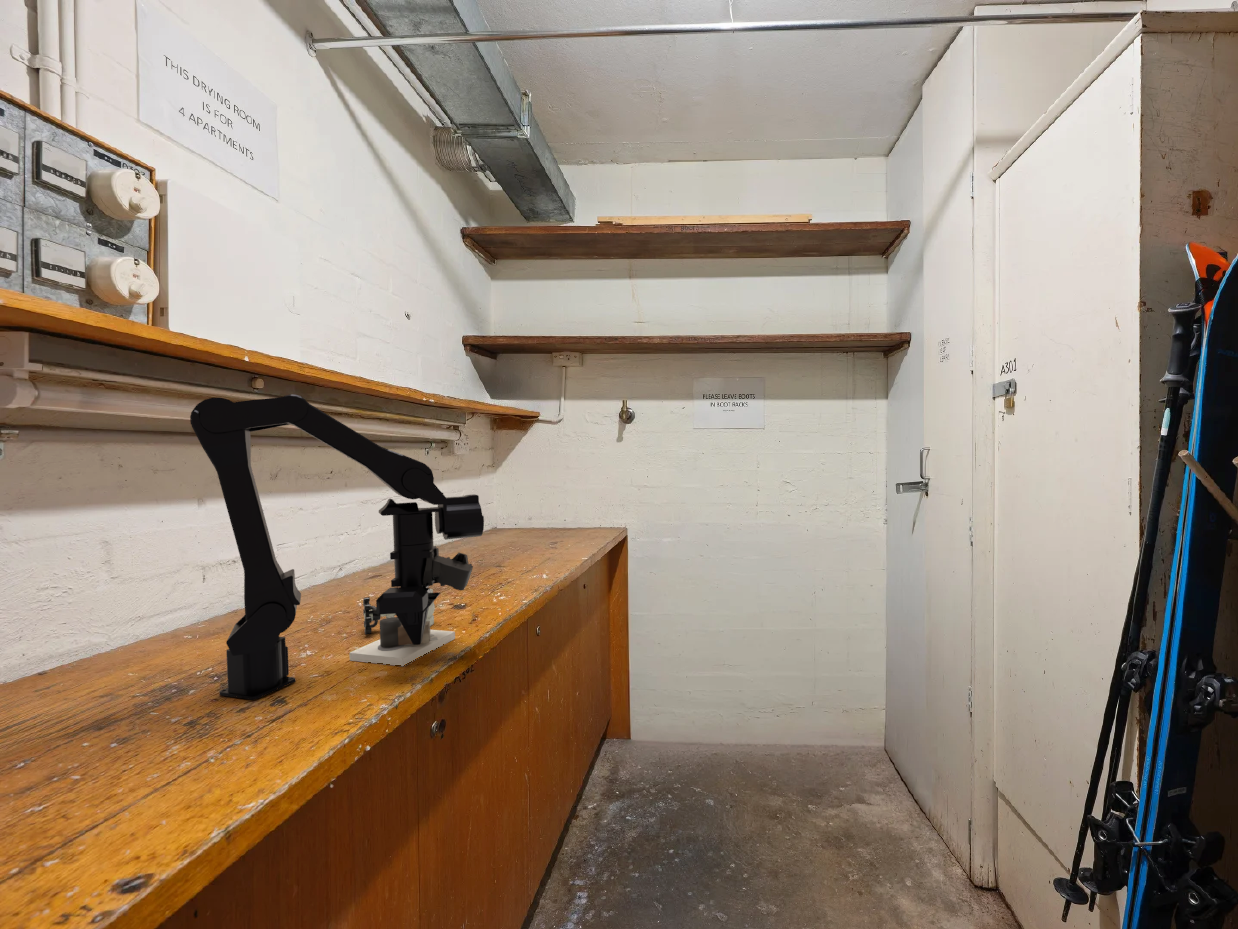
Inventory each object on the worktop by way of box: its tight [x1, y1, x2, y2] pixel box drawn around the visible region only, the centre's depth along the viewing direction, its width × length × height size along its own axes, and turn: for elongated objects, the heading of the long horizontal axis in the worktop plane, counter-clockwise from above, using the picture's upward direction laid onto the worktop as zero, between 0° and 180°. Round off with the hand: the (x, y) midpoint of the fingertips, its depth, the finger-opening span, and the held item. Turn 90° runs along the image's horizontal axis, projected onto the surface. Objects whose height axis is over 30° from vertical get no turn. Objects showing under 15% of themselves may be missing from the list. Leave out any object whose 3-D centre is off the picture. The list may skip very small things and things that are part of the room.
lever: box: [379, 616, 431, 647], centre depth 90 cm, size 7×3×4 cm, turn 101°
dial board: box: [348, 629, 456, 667], centre depth 92 cm, size 13×10×1 cm
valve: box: [362, 587, 436, 635], centre depth 103 cm, size 7×7×12 cm
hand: (417, 644), depth 87 cm, fingers closed
